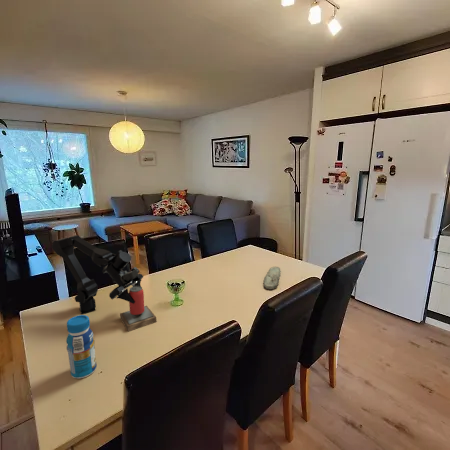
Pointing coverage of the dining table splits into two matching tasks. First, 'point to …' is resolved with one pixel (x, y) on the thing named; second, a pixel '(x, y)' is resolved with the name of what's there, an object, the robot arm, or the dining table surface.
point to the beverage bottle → (80, 347)
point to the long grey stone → (272, 278)
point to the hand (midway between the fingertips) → (138, 299)
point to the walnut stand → (137, 319)
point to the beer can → (136, 300)
